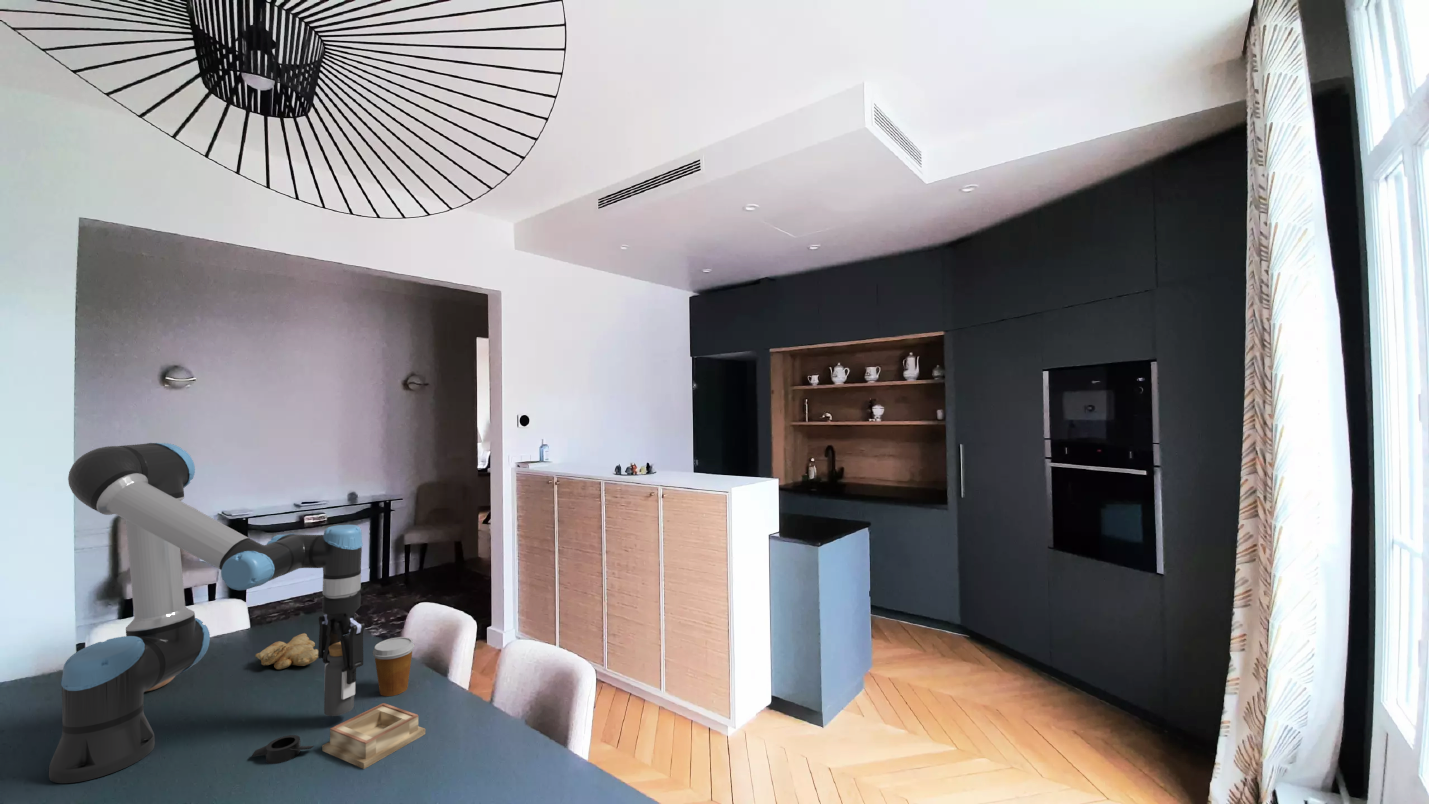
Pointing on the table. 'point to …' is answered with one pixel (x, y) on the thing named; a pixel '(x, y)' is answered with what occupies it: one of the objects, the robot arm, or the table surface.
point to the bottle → (335, 684)
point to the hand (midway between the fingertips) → (339, 693)
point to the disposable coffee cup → (393, 664)
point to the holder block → (373, 735)
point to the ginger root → (289, 653)
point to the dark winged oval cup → (281, 749)
